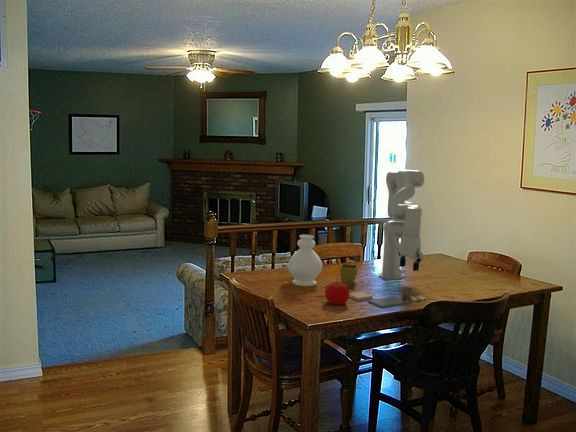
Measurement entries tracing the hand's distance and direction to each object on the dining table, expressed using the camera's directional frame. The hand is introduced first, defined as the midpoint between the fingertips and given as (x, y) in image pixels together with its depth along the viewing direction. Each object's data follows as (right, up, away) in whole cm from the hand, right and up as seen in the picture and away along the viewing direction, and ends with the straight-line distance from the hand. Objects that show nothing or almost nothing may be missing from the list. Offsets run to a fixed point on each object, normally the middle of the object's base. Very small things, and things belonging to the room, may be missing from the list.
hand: (409, 268), depth 298 cm
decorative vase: (-49, -10, +28) cm, 57 cm away
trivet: (-11, -16, -3) cm, 20 cm away
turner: (+3, -16, +5) cm, 17 cm away
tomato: (-35, -16, -7) cm, 39 cm away
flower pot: (-26, -11, +32) cm, 43 cm away
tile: (-19, -14, +7) cm, 25 cm away
